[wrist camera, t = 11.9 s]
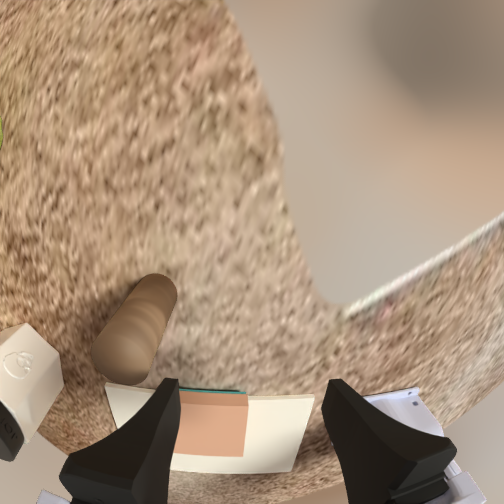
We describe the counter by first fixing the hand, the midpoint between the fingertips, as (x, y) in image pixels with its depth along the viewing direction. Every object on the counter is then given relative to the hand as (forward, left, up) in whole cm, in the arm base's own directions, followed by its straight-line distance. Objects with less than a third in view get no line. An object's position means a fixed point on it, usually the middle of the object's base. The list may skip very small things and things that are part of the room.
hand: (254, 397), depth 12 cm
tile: (+3, +8, -8) cm, 12 cm away
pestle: (+7, -1, -10) cm, 12 cm away
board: (+3, +16, -10) cm, 19 cm away
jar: (+22, +8, -10) cm, 25 cm away
